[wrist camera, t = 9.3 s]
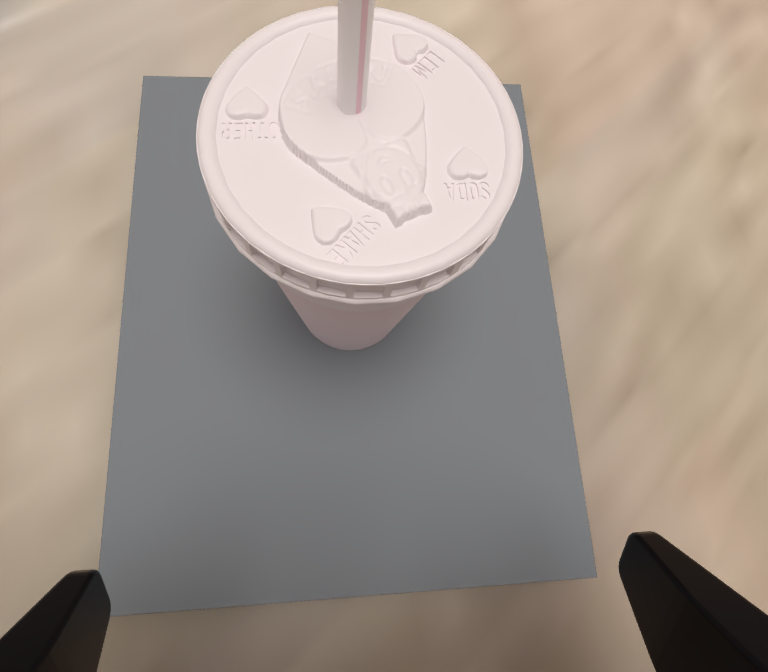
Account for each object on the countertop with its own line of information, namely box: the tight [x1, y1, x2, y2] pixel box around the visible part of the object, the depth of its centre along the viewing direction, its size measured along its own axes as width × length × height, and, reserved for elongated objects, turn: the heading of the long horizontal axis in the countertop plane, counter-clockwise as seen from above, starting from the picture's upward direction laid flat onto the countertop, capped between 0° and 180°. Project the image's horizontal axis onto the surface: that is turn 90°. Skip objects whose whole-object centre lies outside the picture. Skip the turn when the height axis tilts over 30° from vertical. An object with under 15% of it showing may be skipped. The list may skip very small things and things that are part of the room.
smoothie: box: [196, 0, 523, 350], centre depth 12 cm, size 6×6×14 cm
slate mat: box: [99, 76, 597, 617], centre depth 19 cm, size 20×16×1 cm
